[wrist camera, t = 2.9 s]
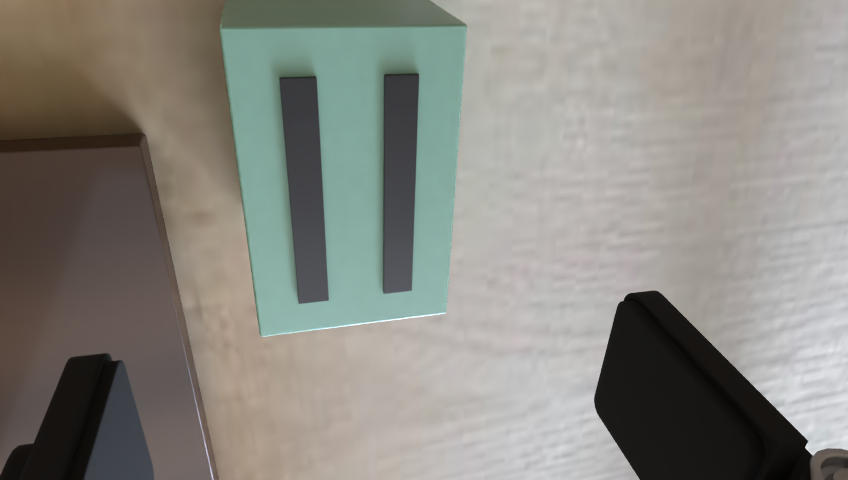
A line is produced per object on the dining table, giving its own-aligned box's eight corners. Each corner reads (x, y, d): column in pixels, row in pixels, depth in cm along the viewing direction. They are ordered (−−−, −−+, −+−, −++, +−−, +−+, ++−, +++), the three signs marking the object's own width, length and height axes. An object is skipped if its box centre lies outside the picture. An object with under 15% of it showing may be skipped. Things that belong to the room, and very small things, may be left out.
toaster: (228, -19, 20) (218, 27, 13) (404, -18, 21) (469, 24, 15) (260, 247, 25) (263, 370, 19) (399, 234, 26) (445, 344, 20)
